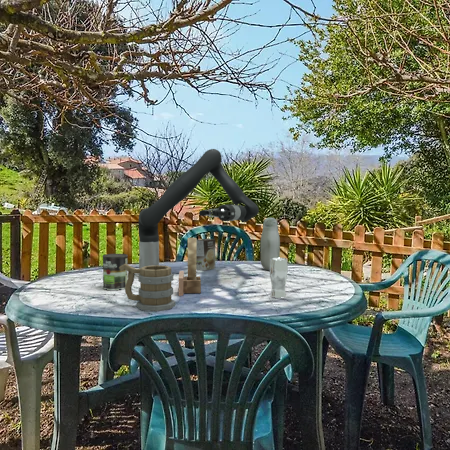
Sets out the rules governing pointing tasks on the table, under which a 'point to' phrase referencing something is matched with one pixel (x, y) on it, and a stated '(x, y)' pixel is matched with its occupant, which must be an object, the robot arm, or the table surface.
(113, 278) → the coffee can
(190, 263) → the dowel
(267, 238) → the grey water bottle
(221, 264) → the table surface
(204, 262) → the coffee box
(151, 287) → the tankard
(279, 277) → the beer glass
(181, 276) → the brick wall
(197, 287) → the cradle
